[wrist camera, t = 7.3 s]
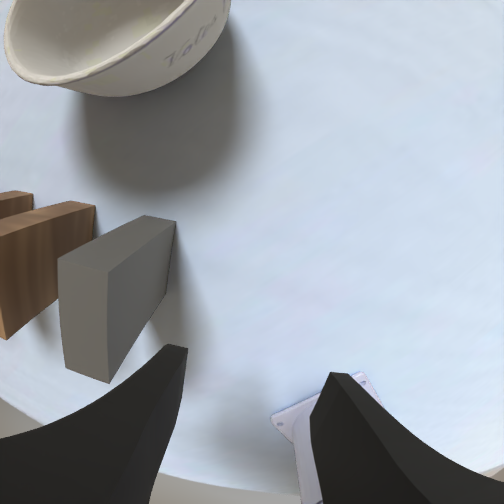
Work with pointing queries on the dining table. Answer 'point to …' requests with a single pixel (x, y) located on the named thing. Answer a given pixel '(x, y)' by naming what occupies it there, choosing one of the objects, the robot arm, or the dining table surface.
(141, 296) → the domino
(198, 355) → the dining table surface
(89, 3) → the teacup
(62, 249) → the domino
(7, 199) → the domino
